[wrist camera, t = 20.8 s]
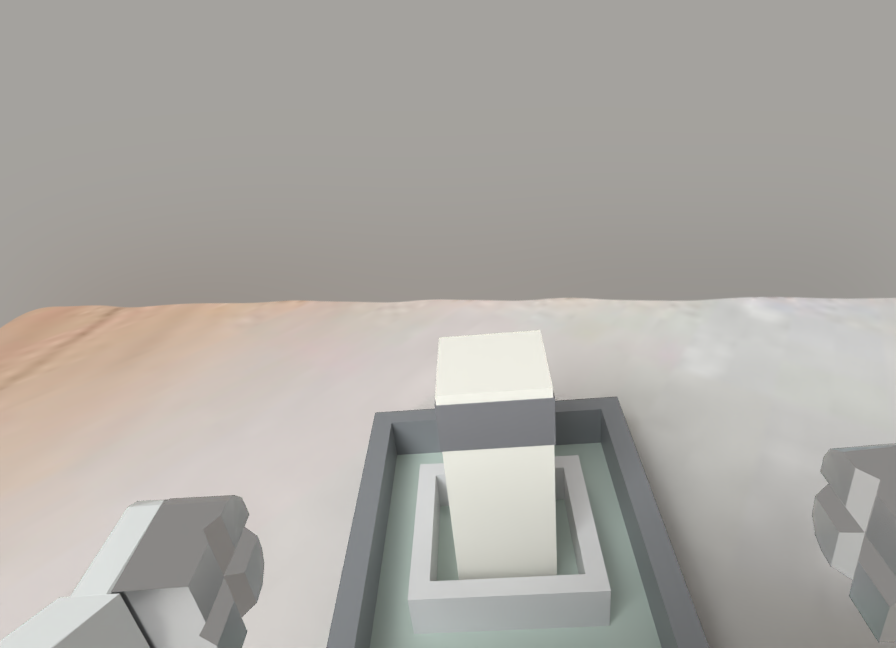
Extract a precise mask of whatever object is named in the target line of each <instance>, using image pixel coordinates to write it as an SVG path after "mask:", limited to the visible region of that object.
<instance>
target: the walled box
mask: <svg viewBox="0 0 896 648" xmlns="http://www.w3.org/2000/svg"><path fill="white" fill-rule="evenodd" d="M555 426H556V445H554V455H555V502H556V549H557V575H554V576H533V577H512V578H491V579H470V580H459V577H458V569H457V561H456V554H455V546H454V538H453V531H452V523H451V515H450V508H449V500H448V492H447V485H446V477H445V469H444V462H443V454H442V452H441V451H440V443H439V436H438V428H437V420H436V413H435V409H423V410H407V411H392V412H377V413H375V416H374V421H373V426H372V431H371V436H370V440H369V445H368V450H367V455H366V460H365V464H364V469H363V474H362V479H361V484H360V489H359V493H358V498H357V503H356V508H355V513H354V517H353V522H352V527H351V532H350V537H349V542H348V546H347V551H346V556H345V561H344V566H343V570H342V575H341V580H340V585H339V590H338V594H337V599H336V604H335V609H334V614H333V619H332V623H331V628H330V633H329V638H328V643H327V647H326V648H709V645H708V642H707V639H706V637H705V634H704V631H703V629H702V626H701V623H700V620H699V618H698V615H697V612H696V610H695V607H694V604H693V601H692V599H691V596H690V593H689V591H688V588H687V585H686V583H685V580H684V577H683V574H682V572H681V569H680V566H679V564H678V561H677V558H676V555H675V553H674V550H673V547H672V545H671V542H670V539H669V536H668V534H667V531H666V528H665V526H664V523H663V520H662V517H661V515H660V512H659V509H658V507H657V504H656V501H655V499H654V496H653V493H652V490H651V488H650V485H649V482H648V480H647V477H646V474H645V471H644V469H643V466H642V463H641V461H640V458H639V455H638V452H637V450H636V447H635V444H634V442H633V439H632V436H631V433H630V431H629V428H628V425H627V423H626V420H625V417H624V415H623V412H622V409H621V406H620V404H619V401H618V398H617V397H605V398H590V399H575V400H559V401H555Z"/></svg>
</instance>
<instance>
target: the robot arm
mask: <svg viewBox="0 0 896 648" xmlns="http://www.w3.org/2000/svg"><path fill="white" fill-rule="evenodd" d="M820 472H821V473H822V475H823V476H824V477H825V479H826V480H827V482H828V483H829V484H828V485H827V486H826V487H825V488H823V489H822V490H821V491H820V492H819V493H818V494H817V495H816V496H815V500H814V506H813V512H812V518H813V524H814V530H815V536H816V538H817V541H818V543H819V546H820V548H821V551H822V552H823V554H824V556H825V557H826V559H827V561H828V562H829V564H830V566H831V567H832V568H834V569H836V570H837V571H839V572H840V573H842V574H843V575H845V576H846V577H848V578H850V579H851V580H852V585H851V589H850V594H849V596H850V598H851V600H852V601H853V603H854V604H855V606H856V607H857V609H858V611H859V612H860V614H861V615H862V617H863V619H864V620H865V622H866V623H867V625H868V626H869V628H870V630H871V631H872V633H873V634H874V636H875V638H876V639H877V641H878V642H879V643H885V642H896V443H892V444H880V445H868V446H857V447H845V448H833V449H830V450H829V451H828V452H827V453H826V455H825V456H824V458H823V462H822V466H821V471H820ZM248 516H249V513H248V510H247V508H246V506H245V503H244V501H243V499H242V498H241V497H238V496H235V495H229V496H210V497H191V498H172V499H169V500H148V501H137V502H135V503H134V504H132V505H130V506H129V507H127V509H126V510H125V512H124V513H123V515H122V516H121V518H120V520H119V521H118V523H117V524H116V526H115V527H114V529H113V530H112V532H111V534H110V535H109V537H108V538H107V540H106V541H105V543H104V544H103V546H102V548H101V549H100V551H99V552H98V554H97V555H96V557H95V558H94V560H93V562H92V563H91V565H90V566H89V568H88V569H87V571H86V572H85V574H84V576H83V577H82V579H81V580H80V582H79V583H78V585H77V586H76V588H75V590H74V591H73V593H72V594H71V596H70V597H59V598H58V599H56V600H55V601H54V602H52V603H51V604H50V605H48V606H47V607H45V608H44V609H43V610H41V611H40V612H39V613H37V614H36V615H35V616H33V617H32V618H31V619H29V620H28V621H26V622H25V623H24V624H22V625H21V626H20V627H18V628H17V629H16V630H14V631H13V632H11V633H10V634H9V635H7V636H6V637H5V638H3V639H2V640H1V641H0V648H242V645H243V643H244V640H245V637H246V634H247V630H246V627H245V625H244V623H243V620H242V617H243V616H244V615H245V614H246V613H247V612H248V611H249V610H250V609H251V608H252V607H253V606H254V605H255V604H256V603H257V600H258V597H259V594H260V591H261V587H262V583H263V572H264V559H263V552H262V547H261V544H260V541H259V539H258V536H257V535H255V534H254V533H252V532H251V531H250V530H248V529H247V528H245V527H244V526H245V524H246V521H247V519H248Z"/></svg>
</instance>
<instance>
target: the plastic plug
mask: <svg viewBox="0 0 896 648" xmlns="http://www.w3.org/2000/svg"><path fill="white" fill-rule="evenodd" d="M435 413H436V420H437V428H438V436H439V443H440V451H441V452H442V454H443V462H444V469H445V477H446V485H447V492H448V500H449V508H450V515H451V523H452V531H453V538H454V546H455V554H456V561H457V569H458V577H459V580H470V579H491V578H512V577H533V576H554V575H557V549H556V502H555V455H554V445H556V426H555V396H554V392H553V385H552V381H551V376H550V372H549V367H548V363H547V358H546V354H545V349H544V345H543V340H542V335H541V331H540V330H535V331H521V332H508V333H494V334H481V335H467V336H454V337H440V338H439V345H438V359H437V373H436V388H435Z"/></svg>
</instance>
